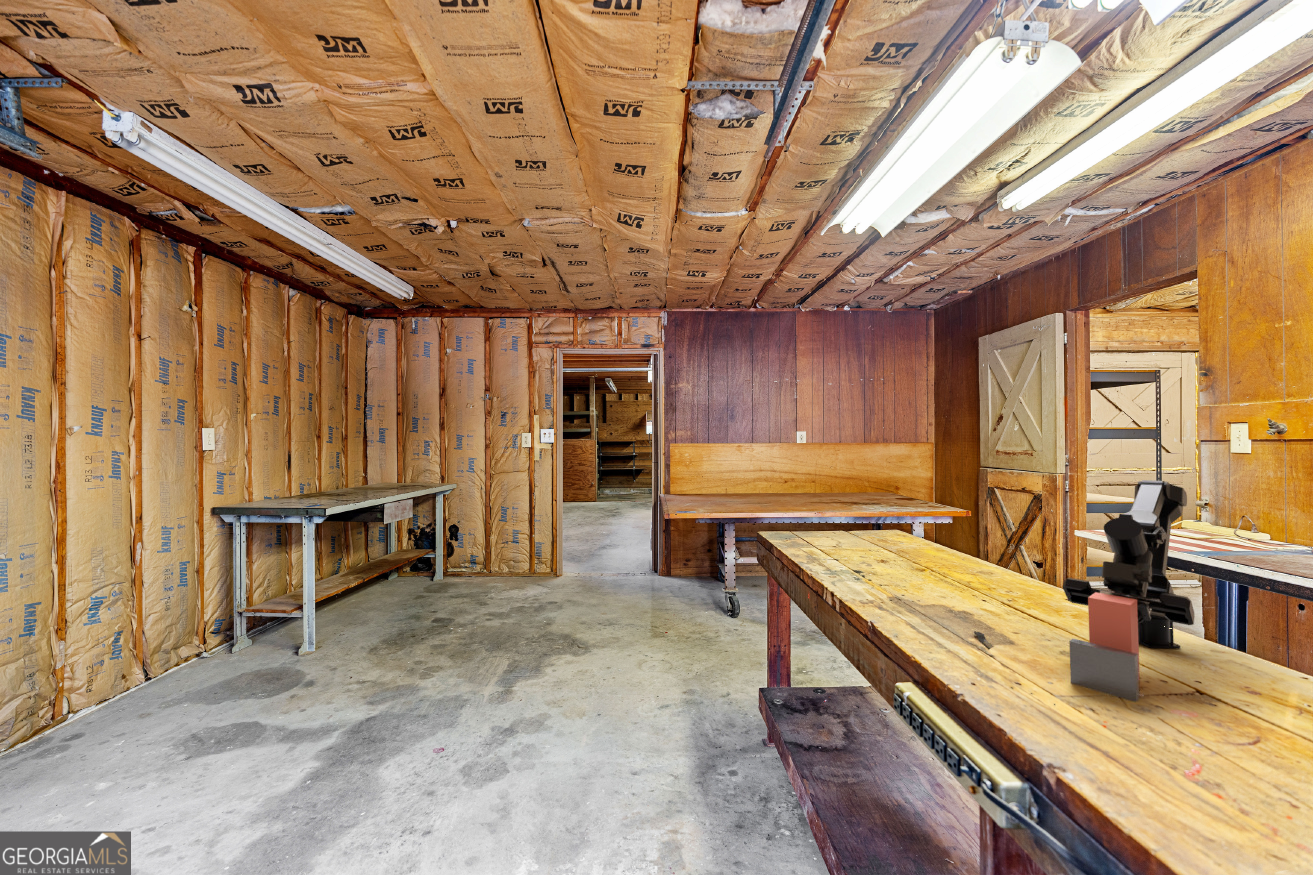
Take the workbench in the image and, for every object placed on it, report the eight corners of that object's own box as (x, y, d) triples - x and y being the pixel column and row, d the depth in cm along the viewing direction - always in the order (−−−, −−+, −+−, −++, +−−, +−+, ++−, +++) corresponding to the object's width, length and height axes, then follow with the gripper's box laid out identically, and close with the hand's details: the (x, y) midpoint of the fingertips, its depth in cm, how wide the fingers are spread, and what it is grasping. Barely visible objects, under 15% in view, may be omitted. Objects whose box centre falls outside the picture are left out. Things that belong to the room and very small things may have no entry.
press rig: (1090, 667, 103) (1089, 622, 103) (1158, 685, 95) (1157, 637, 95) (1067, 688, 95) (1065, 640, 95) (1140, 710, 87) (1138, 658, 87)
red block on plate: (1098, 668, 100) (1095, 592, 100) (1139, 679, 95) (1137, 599, 95) (1090, 676, 97) (1088, 597, 97) (1133, 688, 92) (1130, 604, 92)
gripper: (1064, 539, 108) (1047, 601, 102) (1189, 553, 93) (1180, 627, 87) (1076, 570, 113) (1061, 631, 106) (1198, 588, 98) (1189, 661, 91)
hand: (1117, 637), depth 98 cm, fingers closed, pressing on red block on plate
